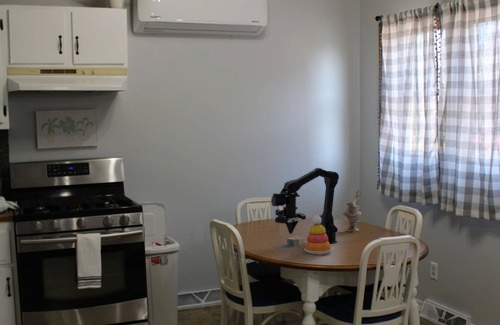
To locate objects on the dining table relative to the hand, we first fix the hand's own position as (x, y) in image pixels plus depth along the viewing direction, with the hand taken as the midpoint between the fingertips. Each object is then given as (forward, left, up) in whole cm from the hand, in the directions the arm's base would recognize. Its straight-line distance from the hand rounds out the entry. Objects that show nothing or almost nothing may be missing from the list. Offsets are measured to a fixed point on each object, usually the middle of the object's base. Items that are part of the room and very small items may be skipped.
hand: (290, 233), depth 296 cm
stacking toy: (-19, 0, -7) cm, 20 cm away
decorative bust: (0, -55, -7) cm, 55 cm away
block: (0, 0, -5) cm, 5 cm away
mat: (0, -1, -7) cm, 7 cm away
